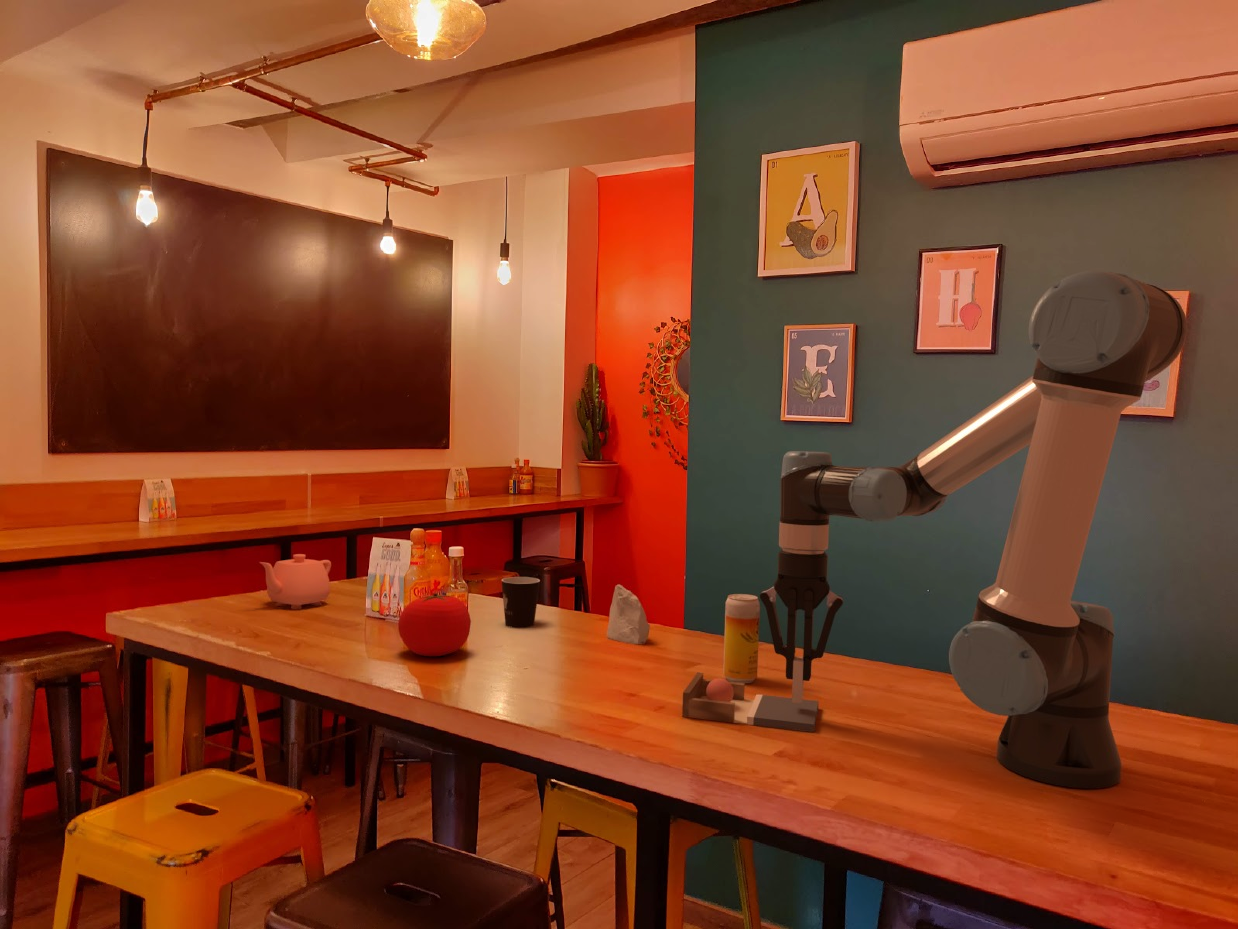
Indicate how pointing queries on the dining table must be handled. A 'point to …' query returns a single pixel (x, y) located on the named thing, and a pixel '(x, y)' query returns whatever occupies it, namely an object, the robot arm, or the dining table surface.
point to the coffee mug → (520, 601)
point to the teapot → (298, 581)
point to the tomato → (434, 625)
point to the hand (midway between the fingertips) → (797, 700)
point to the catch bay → (709, 701)
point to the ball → (720, 690)
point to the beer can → (741, 638)
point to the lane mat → (776, 712)
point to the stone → (627, 618)
